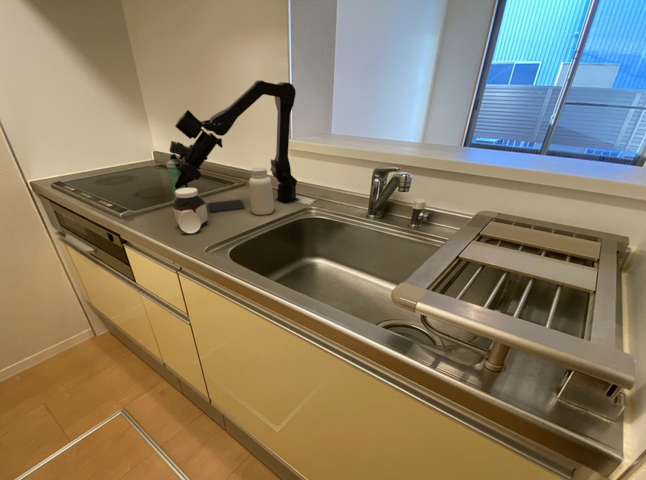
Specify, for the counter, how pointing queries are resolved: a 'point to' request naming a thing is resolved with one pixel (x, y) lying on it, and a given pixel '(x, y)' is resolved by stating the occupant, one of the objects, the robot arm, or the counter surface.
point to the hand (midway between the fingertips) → (175, 185)
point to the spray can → (174, 172)
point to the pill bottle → (261, 192)
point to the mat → (225, 206)
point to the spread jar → (189, 210)
